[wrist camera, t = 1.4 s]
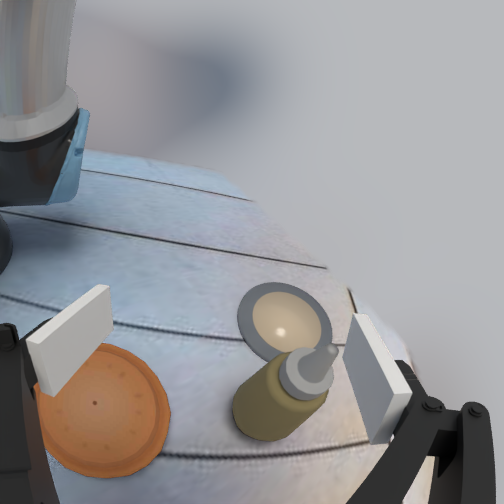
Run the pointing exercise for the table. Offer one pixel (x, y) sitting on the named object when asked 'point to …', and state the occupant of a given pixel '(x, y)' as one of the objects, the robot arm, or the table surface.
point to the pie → (106, 416)
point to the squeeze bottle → (284, 392)
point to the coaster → (282, 320)
